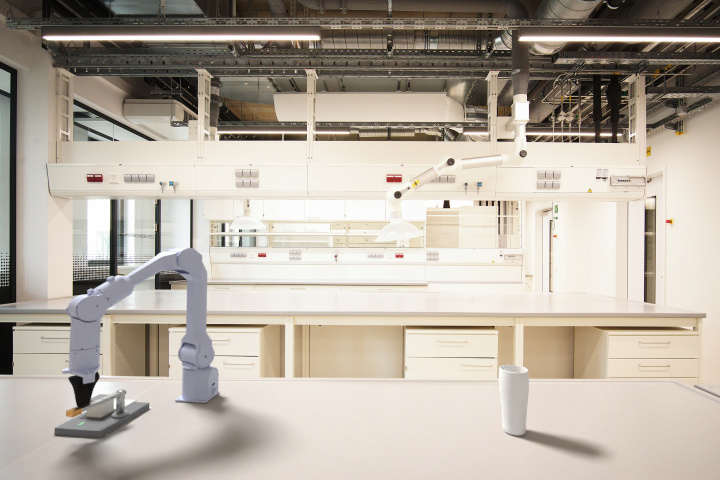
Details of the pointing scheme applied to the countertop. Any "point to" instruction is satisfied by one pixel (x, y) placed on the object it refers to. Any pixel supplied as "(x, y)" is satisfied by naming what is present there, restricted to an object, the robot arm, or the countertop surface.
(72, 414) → the orange-tipped grey rod
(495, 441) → the countertop surface
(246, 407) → the countertop surface
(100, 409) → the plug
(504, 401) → the drinking glass
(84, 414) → the grey flat board
